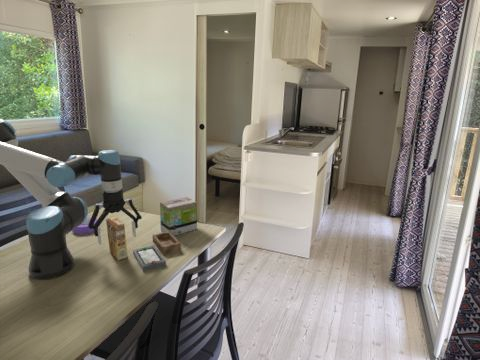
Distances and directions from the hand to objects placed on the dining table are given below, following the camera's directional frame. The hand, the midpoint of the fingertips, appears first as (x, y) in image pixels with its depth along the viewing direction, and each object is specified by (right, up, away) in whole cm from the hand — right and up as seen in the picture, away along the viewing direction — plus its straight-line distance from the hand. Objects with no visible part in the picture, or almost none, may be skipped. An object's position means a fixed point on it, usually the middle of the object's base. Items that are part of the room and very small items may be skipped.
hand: (117, 239), depth 136 cm
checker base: (+13, -8, -1) cm, 16 cm away
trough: (+18, -5, +10) cm, 21 cm away
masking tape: (-25, 0, +26) cm, 36 cm away
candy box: (0, -7, +2) cm, 8 cm away
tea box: (+20, -1, +27) cm, 34 cm away
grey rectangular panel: (+13, -8, -1) cm, 15 cm away
